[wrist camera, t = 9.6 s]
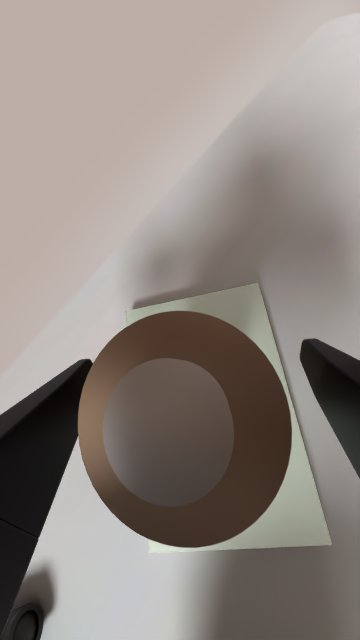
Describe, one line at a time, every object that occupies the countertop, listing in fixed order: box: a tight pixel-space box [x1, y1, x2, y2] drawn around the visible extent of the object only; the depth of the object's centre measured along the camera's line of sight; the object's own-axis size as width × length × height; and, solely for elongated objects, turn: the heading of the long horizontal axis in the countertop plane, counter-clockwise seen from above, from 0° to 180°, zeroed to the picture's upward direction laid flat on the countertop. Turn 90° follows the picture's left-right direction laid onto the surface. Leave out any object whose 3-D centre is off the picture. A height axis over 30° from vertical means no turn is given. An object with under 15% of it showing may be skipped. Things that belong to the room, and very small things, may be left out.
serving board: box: [126, 283, 332, 553], centre depth 16 cm, size 18×12×1 cm, turn 9°
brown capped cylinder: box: [78, 311, 292, 548], centre depth 10 cm, size 5×5×12 cm
